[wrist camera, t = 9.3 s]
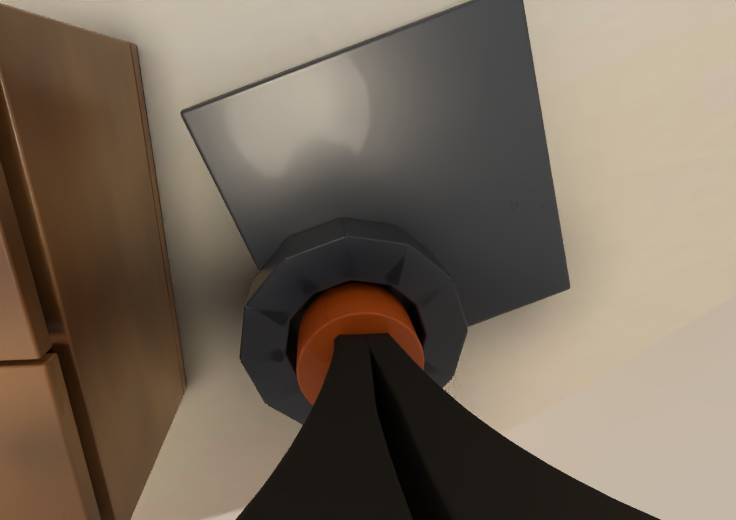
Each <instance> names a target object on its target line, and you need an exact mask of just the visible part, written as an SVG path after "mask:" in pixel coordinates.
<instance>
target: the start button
mask: <svg viewBox="0 0 736 520" xmlns="http://www.w3.org/2000/svg"><path fill="white" fill-rule="evenodd" d="M377 333H389V334H390V336H391V337H392V338H393V339H394V340H395V341H396V342H397V343H398V344H399V345H400V346H401V347H402V348H403V350H404V351H405V352H406V353H407V354H408V355H409V356H410V357H411V358H412V359H413V360H414V361H415V362H416V363H417V364H418V365H419V366H420V367H421V368H422V370H423V369H424V352H423V349H422V345H421V343H420V341H419V339H418V336H417V334H416V332H415V330H414V327H413V325H412V323H411V321H410V318H409V316H408V314H407V312H406V309H405V308H404V306H403V305H402V303H401V302H400V301H399V300H398V298H397V297H395V296H394V295H393V294H392V293H390V292H389V291H387V290H385V289H383V288H381V287H379V286H376V285H372V284H367V283H348V284H343V285H339V286H336V287H334V288H331V289H329V290H327V291H325V292H324V293H322V294H321V295H319V296H318V297H317V298H316V299H315V300H314V301H313V302H312V303H311V304H310V305H309V306H308V307H307V309H306V310H305V312H304V314H303V316H302V318H301V321H300V324H299V329H298V346H297V364H296V374H297V380H298V384H299V387H300V389H301V391H302V393H303V394H304V396H305V397H306V399H307V400H308V401H309V402H310V403H311V404H312V405H314V403H315V401H316V399H317V397H318V395H319V392H320V390H321V388H322V386H323V383H324V380H325V377H326V375H327V372H328V369H329V366H330V363H331V359H332V356H333V351H334V339H335V338H336V337H337V336H338V335H349V334H377Z"/></svg>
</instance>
